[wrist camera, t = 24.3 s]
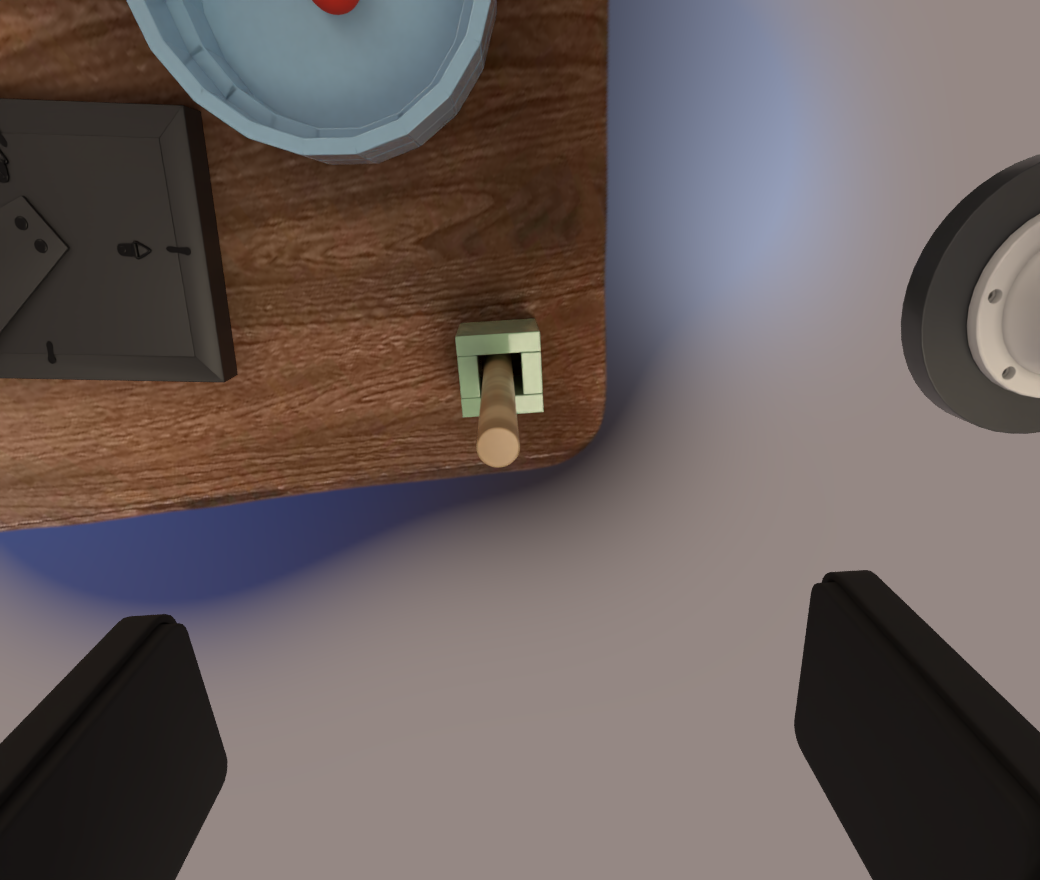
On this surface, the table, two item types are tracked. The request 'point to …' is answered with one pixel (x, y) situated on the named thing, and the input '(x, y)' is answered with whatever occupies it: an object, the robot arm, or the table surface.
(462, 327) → the holder
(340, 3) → the ball
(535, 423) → the table surface
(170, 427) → the table surface
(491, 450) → the stick
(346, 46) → the light blue round tray
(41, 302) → the picture frame
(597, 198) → the table surface
